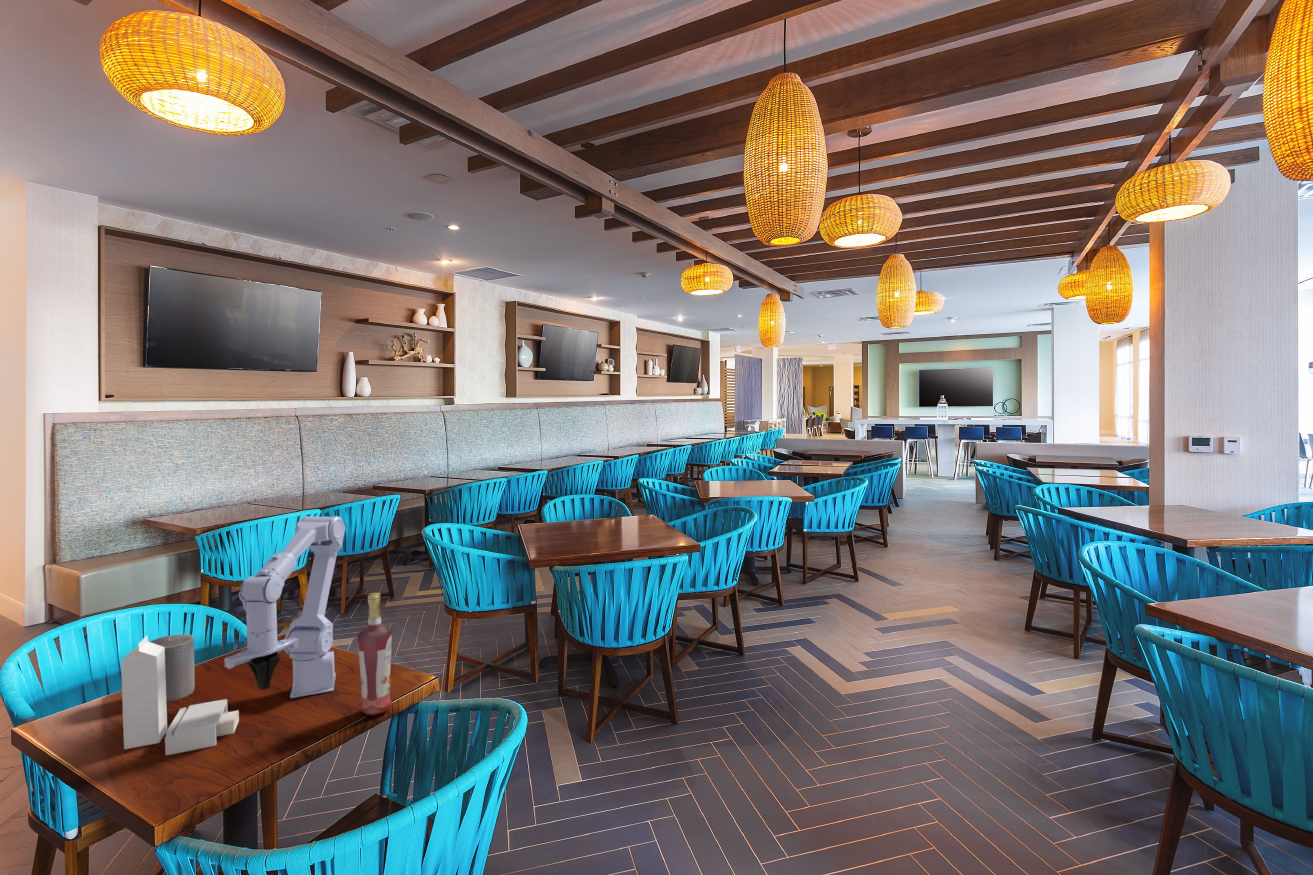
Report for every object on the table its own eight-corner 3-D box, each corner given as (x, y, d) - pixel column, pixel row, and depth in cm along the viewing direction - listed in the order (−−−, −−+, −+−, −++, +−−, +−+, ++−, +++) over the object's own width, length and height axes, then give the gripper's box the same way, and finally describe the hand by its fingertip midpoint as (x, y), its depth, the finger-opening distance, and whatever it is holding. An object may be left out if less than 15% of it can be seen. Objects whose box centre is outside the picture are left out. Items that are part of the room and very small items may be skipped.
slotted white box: (227, 717, 141) (227, 698, 141) (215, 745, 129) (215, 724, 129) (182, 726, 137) (181, 706, 137) (165, 755, 125) (164, 733, 125)
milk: (167, 730, 135) (165, 632, 135) (159, 743, 130) (157, 641, 129) (132, 736, 133) (130, 636, 132) (122, 750, 127) (120, 646, 127)
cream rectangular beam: (238, 720, 139) (238, 710, 139) (233, 733, 134) (233, 722, 134) (185, 730, 135) (184, 719, 135) (177, 743, 130) (177, 732, 130)
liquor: (387, 717, 141) (385, 598, 140) (354, 719, 140) (352, 599, 139) (396, 702, 148) (394, 589, 147) (365, 704, 147) (362, 590, 146)
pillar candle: (135, 701, 149) (133, 641, 148) (175, 683, 158) (174, 627, 158) (166, 706, 147) (165, 645, 146) (205, 688, 156) (203, 630, 155)
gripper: (286, 616, 146) (287, 672, 146) (217, 635, 133) (219, 696, 134) (302, 621, 142) (303, 678, 143) (232, 642, 130) (234, 704, 130)
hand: (263, 687), depth 138 cm, fingers closed
